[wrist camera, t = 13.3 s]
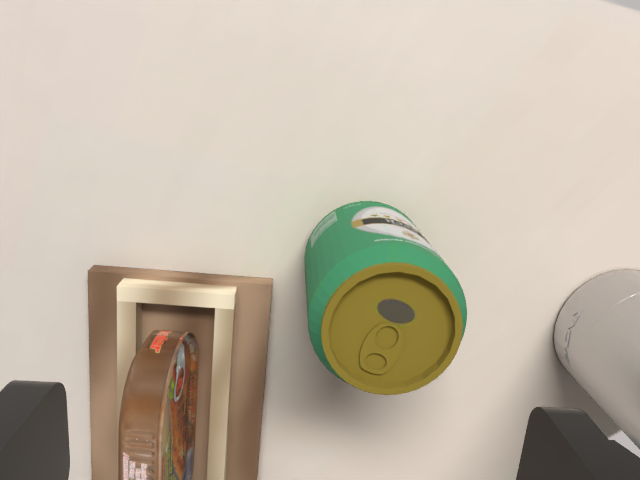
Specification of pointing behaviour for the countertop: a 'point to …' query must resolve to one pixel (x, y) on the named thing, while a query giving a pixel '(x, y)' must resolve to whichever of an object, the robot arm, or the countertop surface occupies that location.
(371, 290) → the beverage can
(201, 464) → the cradle
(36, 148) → the countertop surface
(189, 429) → the tin
